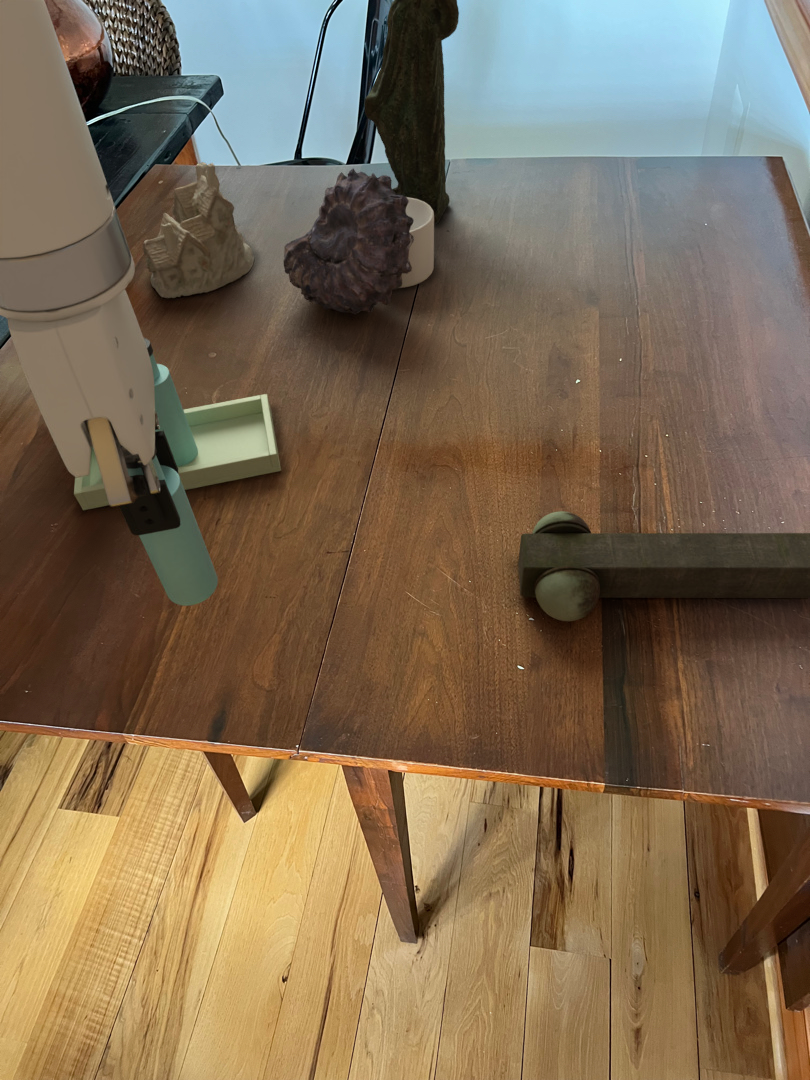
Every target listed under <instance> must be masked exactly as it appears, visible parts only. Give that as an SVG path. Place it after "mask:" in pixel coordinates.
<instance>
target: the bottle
mask: <svg viewBox="0 0 810 1080" xmlns="http://www.w3.org/2000/svg"><path fill="white" fill-rule="evenodd" d="M121 447H123V446H122V445H121ZM152 461H153V464H154V467H155V470H156V473H157V475H158V478H159V480H164V479H165V482H166V484H167V487H168V489H169V492H170V494H171V497H172V499H173V502H174V504H175V507H176V509H177V512H178V514H179V517H180V526H179V527H178V528H175V529H170V530H165V531H160V532H154V533H149V534H144V535H138V537H139V539H140V542H141V543H142V546H143V547H144V549H145V552H146V555H147V556H148V558H149V560H150V562H151V565H152V567H153V568H154V569H153V570H155V574H157V577H158V579H159V581H160V583H161V586H162V587H163V590H164V592H165V594H166V596H167V598H168V599H169V601H171V602H172V603H173V604H176V605H178V606H185V607H188V606H195V605H199V604H201V603H203V602H205V601H206V600H208V599H209V598H210V597H211V596H212V595H213V594H214V593H215V591H216V590H217V586H218V583H219V579H218V574H217V571H216V570H215V567H214V563H213V561H212V559H211V556H210V553H209V551H208V549H207V546H206V543H205V541H204V538H203V535H202V532H201V530H200V527H199V524H198V522H197V519H196V516H195V514H194V512H193V511H194V510H193V508H192V506H191V504H190V500H189V498H188V495H187V493H186V490H184V487H183V485H182V482H181V480H180V477H179V475H178V473H177V472H176V471H175V470H174V469H172V468H170V467H168V466H163V465H160V464H159V461H158V459H157V456H156V447H155V451H154V456H153V457H152ZM126 466H127V470H128V473H129V476H134V475H144V474H143V471H142V469H141V466H140V463H138V462H136V463H131V464H126Z"/></svg>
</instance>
